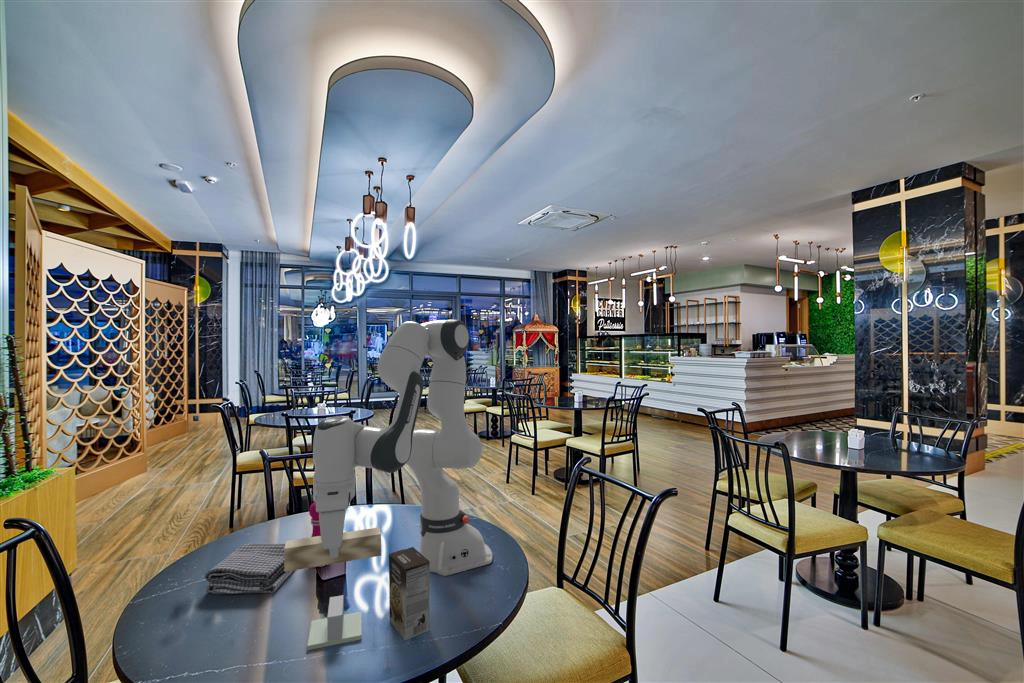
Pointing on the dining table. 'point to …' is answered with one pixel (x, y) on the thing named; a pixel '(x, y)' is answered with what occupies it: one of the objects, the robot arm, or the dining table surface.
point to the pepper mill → (315, 521)
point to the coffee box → (409, 592)
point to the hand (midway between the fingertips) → (334, 550)
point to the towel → (249, 570)
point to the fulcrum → (335, 626)
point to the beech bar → (314, 554)
